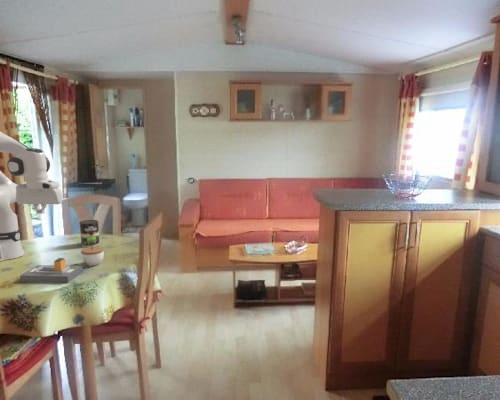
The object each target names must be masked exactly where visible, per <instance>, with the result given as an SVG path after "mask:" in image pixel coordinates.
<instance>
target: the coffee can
mask: <svg viewBox="0 0 500 400" xmlns="http://www.w3.org/2000/svg"><path fill="white" fill-rule="evenodd" d="M79 228H80V246H82V247H84V248H87V247H91V246H99V245H100V244H101V243H100V230H99V220H97V219H86V220H82V221H79Z"/></svg>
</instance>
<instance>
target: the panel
mask: <svg viewBox="0 0 500 400" xmlns="http://www.w3.org/2000/svg"><path fill="white" fill-rule="evenodd" d="M83 272H84V271H83V266H82V265H66V268H64V269H63V270H61V272H55V267H54V264H52V265H50V264H49V265H45V264H43V265H42V264H41V265H40V264H39V265H38V264H37V265H35V266H34V267H32V268H31V269H28V270H27V271H25V272H24V273H22V274H20V275H19V278H20V283H21V282H22V283H55V284H56V283H59V284H60V283H62V284H63V283H64V284H68V283H70V282H71V281H73V280H74V279H76V278H77V277H78V276H79V275H81V274H82V273H83Z"/></svg>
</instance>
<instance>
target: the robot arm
mask: <svg viewBox="0 0 500 400" xmlns="http://www.w3.org/2000/svg"><path fill="white" fill-rule="evenodd" d="M0 153H5V154H6V153H8V154H12V155H14V156H11V157H10V158H9V159H8V161H7V165H6V166H7V170H8V172H9V173H10V174H11V175H12V176H14V177H25V182H26V183H19V184H17V183H15V182H14V181H12V180H11V179H10V178H8V176H6V175H5V174H4V173H3V172H2V171H1V170H0V262H1V261H2V262H3V261H8V260H12V259H17V258H21V257H23V256H24V255H25V250H24V248H23V245H22V242H21V231H20V228H19V221H18V215H17V214H16V213H14V212H13V210H12V208H11V204H14V203H17V204H18V205H32V206H33V208H34V209H35V211H36V212H35V213H36V214H41V215H43V214H45V212H46V211H45V209H46V208H47V205H60V204H62V203H63V195H62V190H61V189H60V188H59V187H60V183H59V182H58V181H55V180H52V179H50V178H49V176H48V172H49V170H50V168H51V162H50V160H49V158H48V157H47V156H46V155H45V151H44V150H42V149H40V148H35V147H34V148H33V147H28V146H27V145H26V144H24V143H22V142H20V141H19V140H17V139H15V138H14V137H11V136H9V135H7V134H5V133H4V132H2V131H0ZM39 206H40V207H41V208H40V207H39Z"/></svg>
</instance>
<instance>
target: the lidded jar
mask: <svg viewBox="0 0 500 400" xmlns="http://www.w3.org/2000/svg"><path fill="white" fill-rule="evenodd" d="M104 250H105V248H104V247H103V246H99V245H97V246H91V247H84V248H82V249H81V250H80V253H81V258H82V260H83V261H82V262H84V263H85V264H86V265H87V266H90V267H93V266H99V265H100V264H101V262H102V261H103V260H104V257H105V251H104Z"/></svg>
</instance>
